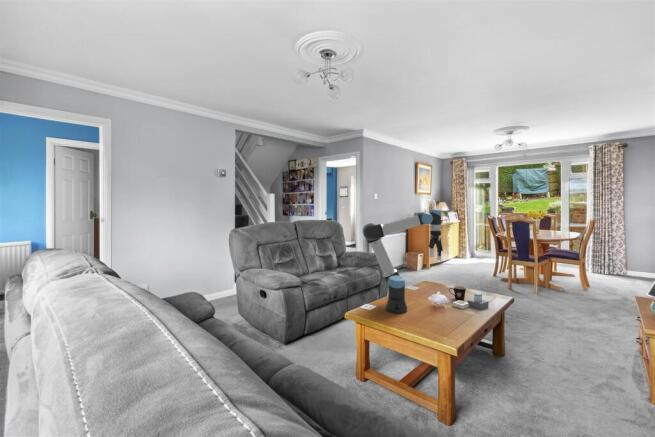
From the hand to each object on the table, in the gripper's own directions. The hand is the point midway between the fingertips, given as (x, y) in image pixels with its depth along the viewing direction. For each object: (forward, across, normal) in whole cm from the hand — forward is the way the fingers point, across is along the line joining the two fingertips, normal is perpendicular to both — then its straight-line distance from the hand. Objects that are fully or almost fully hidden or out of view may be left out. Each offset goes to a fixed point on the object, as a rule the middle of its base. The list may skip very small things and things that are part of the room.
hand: (435, 258), depth 233 cm
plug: (+35, -9, -28) cm, 46 cm away
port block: (+35, -9, -28) cm, 46 cm away
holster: (+35, -8, -16) cm, 39 cm away
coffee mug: (+35, +9, -22) cm, 42 cm away
